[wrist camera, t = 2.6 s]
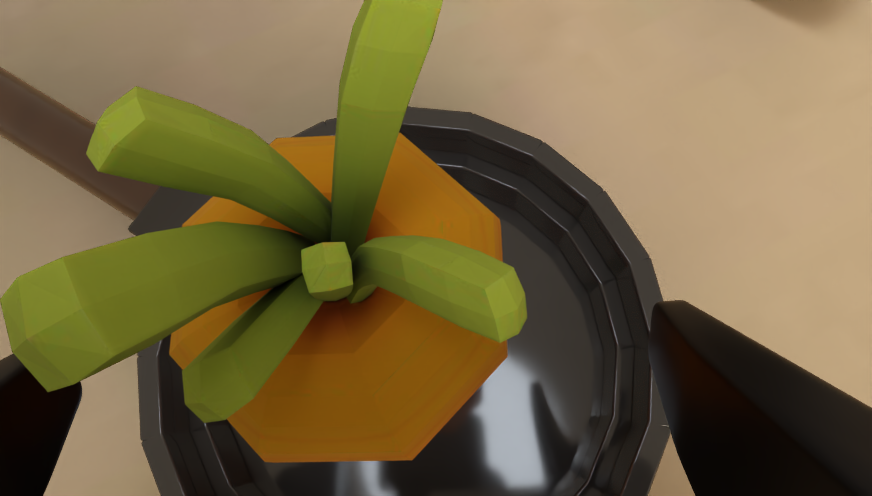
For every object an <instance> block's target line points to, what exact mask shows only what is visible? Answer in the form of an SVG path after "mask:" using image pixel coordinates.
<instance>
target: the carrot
mask: <svg viewBox="0 0 872 496" xmlns="http://www.w3.org/2000/svg"><path fill="white" fill-rule="evenodd" d="M442 1H443V0H364V3H363V5H362V7H361V9H360V11H359V14H358V16H357V18H356V20H355V22H354V25H353V28H352V32H351V37H350V41H349V45H348V49H347V53H346V58H345V62H344V66H343V70H342V74H341V79H340V85H339V98H338V110H337V123H336V135H335V136H314V137H291V138H276V139H275V140H274V141H273V142H272V143H271V144H270V145H268V144H267V143H266V142H265V141H264V140H262V139H261V138H260V137H259V136H258V135H256V134H255V133H254V132H253V131H252V130H250V129H247V128H245V127H243V126H241V125H238V124H236V123H234V122H232V121H229V120H227V119H225V118H223V117H221V116H218V115H216V114H214V113H212V112H209V111H207V110H205V109H203V108H201V107H198V106H196V105H194V104H190V103H187V102H184V101H181V100H178V99H175V98H172V97H168V96H165V95H162V94H159V93H156V92H153V91H150V90H147V89H143V88H140V87H137V86H136V87H134V88H133V89H132V90H130V91H129V92H128V93H126V94H125V95H124V96H122V97H121V98H120V99H118V100H117V101H116V102H114V103H113V104H112V105H110V106H109V107H107V109H106V110H105V112H104V113H103V115H102V116H101V117H100V119H99V120H98V122H97V124H96V127H95V130H94V133H93V134H92V137H91V140H90V143H89V146H88V149H87V152H86V154H87V156H88V157H89V159H90V160H91V162H92V163H93V165H94V166H95V168H96V169H97V171H98V172H103V173H107V174H111V175H116V176H120V177H124V178H129V179H133V180H137V181H142V182H146V183H150V184H155V185H159V186H163V187H168V188H173V189H178V190H183V191H189V192H194V193H199V194H204V195H209V196H213V197H212V198H211V199H210V200H209V201H208V202H207V203H206V204H204V205H203V206H202V207H201V208H200V209H199V210H198V211H197V212H196V213H195V214H194V215H192V216H191V217H190V218H189V219H188V220H187V221H186V222H185V223H184V224H183V225H182V227H180V228H174V229H169V230H163V231H157V232H151V233H146V234H142V235H139V236H135V237H132V238H128V239H125V240H121V241H118V242H114V243H111V244H107V245H104V246H100V247H97V248H93V249H90V250H86V251H82V252H79V253H75V254H72V255H68V256H65V257H62V258H59V259H57V260H55V261H53V262H50V263H48V264H46V265H44V266H41V267H39V268H37V269H35V270H33V271H30V272H28V273H26V274H24V275H21V276H19V277H17V278H16V280H15V281H14V282H13V284H12V285H11V286H10V287H9V289H8V290H7V291H6V292H5V294H4V295H3V296H2V298H1V299H0V302H1V307H2V311H3V315H4V319H5V324H6V328H7V332H8V336H9V340H10V345H11V349H12V352H13V353H14V354H15V356H16V357H17V358H18V359H19V360H20V361H21V362H22V363H23V365H24V366H25V367H26V368H27V369H28V370H29V371H30V372H31V374H32V375H33V376H34V377H35V378H36V379H37V380H38V382H39V383H40V384H41V385H42V386H43V387H44V388H45V389H46V391H47V392H50V391H54V390H57V389H60V388H63V387H67V386H70V385H73V384H75V383H77V382H79V381H81V380H83V379H85V378H87V377H89V376H91V375H94V374H96V373H98V372H100V371H102V370H104V369H106V368H108V367H110V366H112V365H114V364H116V363H118V362H120V361H122V360H124V359H126V358H128V357H130V356H132V355H134V354H136V353H138V352H140V351H142V350H144V349H146V348H148V347H150V346H152V345H154V344H155V343H157V342H158V341H160V340H162V339H163V338H165V337H167V336H168V335H170V334H171V341H170V351H169V355H170V356H171V357H172V358H173V359H174V360H175V362H176V363H177V364H178V365H179V366H180V367H181V368H182V369H183V370H182V377H183V388H184V400H185V405H186V406H187V407H188V408H189V409H190V410H191V411H192V412H193V413H194V414H195V415H196V416H198V417H199V418H200V419H201V420H202V421H203V422H204V423H208V422H215V421H222V420H226V419H227V420H228V421H229V422H230V424H231V425H232V426H233V427H234V428H235V429H236V430H237V431H238V433H239V434H240V435H241V436H242V437H243V438H244V439H245V441H246V442H247V443H248V444H249V445H250V446H251V447H252V448H253V450H254V451H255V452H256V453H257V454H258V455H259V456H260V457H261V458H262V460H263V461H264V462H272V463H280V462H339V461H398V460H413V459H414V458H415V457H416V456H417V455H418V454H419V453H420V452H421V450H422V449H423V448H424V447H425V446H426V445H427V444H428V443H429V442H430V441H431V440H432V438H433V437H434V436H435V435H436V434H437V433H438V432H439V431H440V430H441V429H442V428H443V426H444V425H445V424H446V423H447V422H448V421H449V420H450V419H451V418H452V417H453V416H454V415H455V413H456V412H457V411H458V410H459V409H460V408H461V407H462V406H463V405H464V404H465V403H466V401H467V400H468V399H469V398H470V397H471V396H472V395H473V394H474V393H475V392H476V391H477V389H478V388H479V387H480V386H481V385H482V384H483V383H484V382H485V381H486V380H487V379H488V377H489V376H490V375H491V374H492V373H493V372H494V371H495V370H496V369H497V368H498V367H499V366H500V364H501V363H502V362H503V361H504V360H505V359H506V358H507V357H508V353H507V339H509V338H511V337H513V336H515V335H518V334H519V332H520V330H521V329H522V327H523V325H524V323H525V321H526V319H527V308H526V298H525V292H524V290H523V287H522V285H521V283H520V281H519V278H518V276H517V274H516V272H515V270H514V267H512V266H510V265H508V264H506V263H503V256H502V237H501V224H500V219H499V218H498V217H497V216H496V215H495V214H494V213H492V212H491V211H490V210H489V209H488V208H487V207H485V206H484V205H483V204H482V203H481V202H480V201H479V200H477V199H476V198H475V197H474V196H473V195H472V194H470V193H469V192H468V191H467V190H466V189H465V188H463V187H462V186H461V185H460V184H459V183H458V182H457V181H455V180H454V179H453V178H452V177H451V176H450V175H448V174H447V173H446V172H445V171H444V170H443V169H442V168H440V167H439V166H438V165H437V164H436V163H435V162H433V161H432V160H431V159H430V158H429V157H428V156H427V155H425V154H424V153H423V152H422V151H421V150H420V149H418V148H417V147H416V146H415V145H414V144H413V143H412V142H410V141H409V140H408V139H407V138H406V137H405V136H403V135H402V134H401V133H399V131H400V128H401V125H402V122H403V119H404V116H405V113H406V110H407V107H408V104H409V101H410V98H411V95H412V92H413V89H414V87H415V84H416V81H417V79H418V76H419V73H420V71H421V68H422V65H423V63H424V60H425V58H426V55H427V52H428V50H429V47H430V44H431V42H432V39H433V36H434V32H435V28H436V24H437V20H438V16H439V13H440V10H441V6H442Z"/></svg>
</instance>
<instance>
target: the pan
mask: <svg viewBox="0 0 872 496" xmlns="http://www.w3.org/2000/svg"><path fill="white" fill-rule="evenodd" d="M336 123H337V118H334V119H329V120H326V121H325V122H324V121H323V122H320V123H318V124H316V125H314V126H312V127H310V128H308V129H306V130H305V131H303V132H301V133H299V134H297V135H295V136H293V137H314V136H335V135H336ZM399 133H401V134H402V135H403V136H405V137H406V138H407V139H408V140H409V141H410V142H412V143H413V144H414V145H415V146H416V147H417V148H418V149H420V150H421V151H422V152H423V153H424V154H425V155H427V156H428V157H429V158H430V159H431V160H432V161H433V162H435V163H436V164H437V165H438V166H439V167H440V168H442V169H443V170H444V171H445V172H446V173H447V174H448V175H450V176H451V177H452V178H453V179H454V180H455V181H457V182H458V183H459V184H460V185H461V186H462V187H463V188H465V189H466V190H467V191H468V192H469V193H470V194H472V195H473V196H474V197H475V198H476V199H477V200H479V201H480V202H481V203H482V204H483V205H484V206H485V207H487V208H488V209H489V210H490V211H491V212H492V213H494V214H495V215H496V216H497V217H498V218H499V219H500V224H501V237H502V256H503V263H506V264H508V265H510V266H512V267H514V270H515V272H516V274H517V276H518V278H519V281H520V283H521V285H522V287H523V290H524V292H525V298H526V308H527V319H526V321H525V323H524V325H523V327H522V329H521V330H520V332H519V334H518V335H515V336H513V337H511V338H509V339H507V353H508V357H507V358H506V359H505V360H504V361H503V362H502V363H501V364H500V366H499V367H498V368H497V369H496V370H495V371H494V372H493V373H492V374H491V375H490V376H489V377H488V379H487V380H486V381H485V382H484V383H483V384H482V385H481V386H480V387H479V388H478V389H477V391H476V392H475V393H474V394H473V395H472V396H471V397H470V398H469V399H468V400H467V401H466V403H465V404H464V405H463V406H462V407H461V408H460V409H459V410H458V411H457V412H456V413H455V415H454V416H453V417H452V418H451V419H450V420H449V421H448V422H447V423H446V424H445V425H444V426H443V428H442V429H441V430H440V431H439V432H438V433H437V434H436V435H435V436H434V437H433V438H432V440H431V441H430V442H429V443H428V444H427V445H426V446H425V447H424V448H423V449H422V450H421V452H420V453H419V454H418V455H417V456H416V457H415V458H414V459H413V460H398V461H339V462H280V463H272V462H264V461H263V460H262V458H261V457H260V456H259V455H258V454H257V453H256V452H255V451H254V450H253V448H252V447H251V446H250V445H249V444H248V443H247V442H246V441H245V439H244V438H243V437H242V436H241V435H240V434H239V433H238V431H237V430H236V429H235V428H234V427H233V426H232V425H231V424H230V422H229V421H228V420H227V419H226V420H222V421H215V422H208V423H204V422H203V421H202V420H201V419H200V418H199V417H198V416H196V415H195V414H194V413H193V412H192V411H191V410H190V409H189V408H188V407H187V406H186V405H185V400H184V388H183V377H182V370H183V369H182V368H181V367H180V366H179V365H178V364H177V363H176V362H175V360H174V359H173V358H172V357H171V356H170V355H169V351H170V341H171V334H170V335H168V336H167V337H165V338H163V339H162V340H160V341H158V342H157V343H155V344H154V345H152V346H150V347H148V348H146V349H144V350H142V351H140V352H138V353H137V356H139V357H138V358H137V365H138V389H139V413H140V437H141V440H142V446H143V449H144V452H145V454H146V457H147V460H148V463H149V465H150V468H151V471H152V473H153V476H154V479H155V481H156V484H157V487H158V489H159V492H160V495H161V496H648V494H649V491H650V488H651V486H652V483H653V480H654V477H655V475H656V472H657V469H658V466H659V464H660V461H661V458H662V455H663V453H664V450H665V447H666V444H667V442H668V439H669V436H670V433H671V431H670V428H669V425H668V421H667V418H666V415H665V411H664V408H663V405H662V401H661V398H660V395H659V391H658V388H657V385H656V381H655V378H654V374H653V371H652V368H651V364H650V361H649V354H648V343H649V334H650V325H651V316H652V310H653V307H654V305H655V304H656V303H657V302H662V301H663V298H662V295H661V291H660V288H659V284H658V281H657V278H656V274H655V271H654V268H653V264H652V261H651V259H650V258H649V255H648V253H647V252H646V250H645V249H644V247H643V246H642V244H641V243H640V241H639V240H638V239H637V237H636V236H635V234H634V233H633V231H632V230H631V228H630V227H629V225H628V224H627V222H626V221H625V219H624V218H623V216H622V215H621V213H620V212H619V210H618V209H617V207H616V206H615V205H614V203H613V202H612V200H611V199H610V197H609V196H608V194H607V193H606V192H605V191H603V189H602V188H601V187H600V186H599V185H597V184H596V183H595V182H594V181H592V180H591V179H590V178H589V177H587V176H586V175H585V174H584V173H582V172H581V171H580V170H579V169H577V168H576V167H575V166H574V165H572V164H571V163H570V162H569V161H567V160H566V159H565V158H564V157H562V156H561V155H560V154H559V153H557V152H556V151H555V150H554V149H552V148H551V147H550V146H549V145H547V144H546V143H545V142H542V141H541V140H539V139H537V138H534V137H532V136H529V135H527V134H524V133H522V132H519V131H517V130H514V129H512V128H509V127H507V126H504V125H501V124H499V123H496V122H494V121H491V120H489V119H486V118H484V117H481V116H479V115H476V114H472V113H471V112H460V111H449V110H438V109H427V108H416V107H407V110H406V113H405V116H404V119H403V122H402V125H401V128H400V131H399Z"/></svg>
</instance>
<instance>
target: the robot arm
mask: <svg viewBox="0 0 872 496" xmlns="http://www.w3.org/2000/svg"><path fill="white" fill-rule="evenodd" d="M648 354H649V361H650V364H651V368H652V371H653V374H654V378H655V381H656V385H657V388H658V391H659V395H660V398H661V401H662V405H663V408H664V411H665V415H666V418H667V421H668V425H669V428H670V431H671V435H672V438H673V441H674V444H675V447H676V450H677V453H678V456H679V458H680V461H681V463H682V466H683V468H684V470H685V473H686V475H687V477H688V480H689V482H690V484H691V486H692V489H693V491H694V493H695V496H872V408H871V407H869V406H867V405H866V404H864V403H862V402H860V401H859V400H857V399H855V398H853V397H852V396H850V395H848V394H846V393H845V392H843V391H841V390H840V389H838V388H836V387H834V386H833V385H831V384H829V383H827V382H826V381H824V380H822V379H820V378H819V377H817V376H815V375H813V374H812V373H810V372H808V371H806V370H805V369H803V368H801V367H799V366H798V365H796V364H794V363H792V362H791V361H789V360H787V359H785V358H784V357H782V356H780V355H778V354H777V353H775V352H773V351H771V350H770V349H768V348H766V347H765V346H763V345H761V344H759V343H758V342H756V341H754V340H752V339H751V338H749V337H747V336H745V335H744V334H742V333H740V332H738V331H737V330H735V329H733V328H731V327H730V326H728V325H726V324H724V323H723V322H721V321H719V320H717V319H716V318H714V317H712V316H710V315H709V314H707V313H705V312H703V311H702V310H700V309H698V308H696V307H695V306H693V305H691V304H689V303H688V302H686V301H683V300H676V301H662V302H657V303H656V304H655V305H654V307H653V310H652V316H651V325H650V334H649V343H648ZM81 397H82V386H81V382H80V381H79V382H77V383H75V384H73V385H70V386H67V387H63V388H60V389H57V390H54V391H50V392H47V391H46V389H45V388H44V387H43V386H42V385H41V384H40V383H39V382H38V380H37V379H36V378H35V377H34V376H33V375H32V374H31V372H30V371H29V370H28V369H27V368H26V367H25V366H24V365H23V363H22V362H21V361H20V360H19V359H18V358H17V357H16V356H15V354H14V353H13V354H12V355H10V356H8V357H6V358H4V359H2V360H0V496H43V494H44V492H45V490H46V488H47V485H48V483H49V481H50V478H51V476H52V473H53V471H54V468H55V466H56V463H57V460H58V458H59V455H60V453H61V450H62V447H63V445H64V442H65V440H66V437H67V435H68V432H69V429H70V427H71V424H72V422H73V419H74V416H75V414H76V411H77V409H78V406H79V404H80V401H81Z"/></svg>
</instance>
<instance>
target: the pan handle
mask: <svg viewBox="0 0 872 496" xmlns="http://www.w3.org/2000/svg"><path fill="white" fill-rule="evenodd" d="M95 127H96V125H95V124H93V123H92V122H90V121H88V120H87V119H85V118H83V117H82V116H80V115H78V114H77V113H75V112H73V111H72V110H70V109H69V108H67V107H65V106H64V105H62V104H60V103H59V102H57V101H55V100H54V99H52V98H50V97H49V96H47V95H46V94H44V93H42V92H41V91H39V90H37V89H36V88H34V87H32V86H31V85H29V84H27V83H26V82H24V81H22V80H21V79H19V78H18V77H16V76H14V75H13V74H11V73H9V72H8V71H6V70H4V69H3V68H1V67H0V135H1V136H3V137H4V138H6V139H7V140H9V141H10V142H12V143H13V144H15V145H17V146H18V147H20V148H21V149H23V150H24V151H26V152H28V153H29V154H31V155H32V156H34V157H35V158H37V159H39V160H40V161H42V162H43V163H45V164H46V165H48V166H50V167H51V168H53V169H54V170H56V171H57V172H59V173H60V174H62V175H64V176H65V177H67V178H68V179H70V180H71V181H73V182H75V183H76V184H78V185H79V186H81V187H82V188H84V189H86V190H87V191H89V192H90V193H92V194H93V195H95V196H97V197H98V198H100V199H101V200H103V201H104V202H106V203H108V204H109V205H111V206H112V207H114V208H115V209H117V210H118V211H120V212H122V213H123V214H125V215H126V216H128V217H129V218H131V219H133V220H134V221H133V222H132V223H131V225H130V226H129V228H128V230H129V231H130V232H131V233H132V234H134V235H135V236H139V235H142V234H146V233H151V232H157V231H163V230H169V229H174V228H180V227H182V225H183V224H184V223H185V222H186V221H187V220H188V219H189V218H190V217H191V216H192V215H194V214H195V213H196V212H197V211H198V210H199V209H200V208H201V207H202V206H203V205H204V204H206V203H207V202H208V201H209V200H210V199H211V198H212V197H213V196H209V195H204V194H199V193H194V192H189V191H183V190H178V189H173V188H168V187H163V186H159V185H155V184H150V183H146V182H142V181H137V180H133V179H129V178H124V177H120V176H116V175H111V174H107V173H103V172H98V171H97V169H96V168H95V166H94V165H93V163H92V162H91V160H90V159H89V157H88V156H87V154H86V152H87V149H88V146H89V143H90V140H91V137H92V134H93V133H94V130H95Z"/></svg>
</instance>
